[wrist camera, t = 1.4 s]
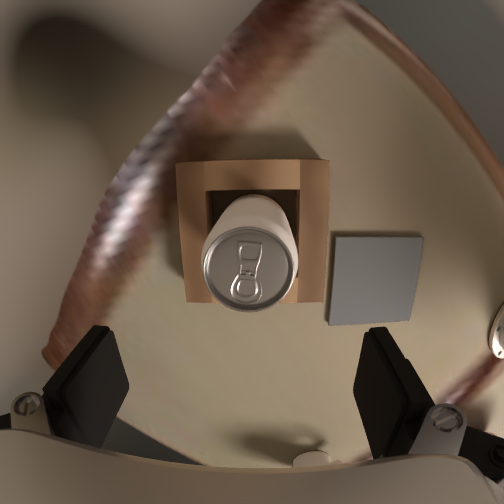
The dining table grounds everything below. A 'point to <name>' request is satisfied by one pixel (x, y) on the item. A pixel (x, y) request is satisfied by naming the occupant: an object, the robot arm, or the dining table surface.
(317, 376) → the dining table surface
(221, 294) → the can
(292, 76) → the dining table surface
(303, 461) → the mug
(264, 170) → the pocket block
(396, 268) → the coaster
